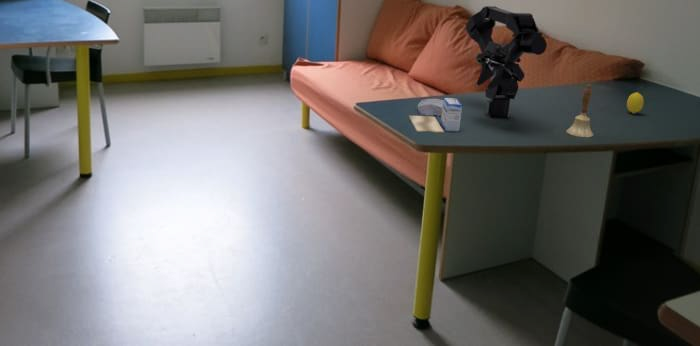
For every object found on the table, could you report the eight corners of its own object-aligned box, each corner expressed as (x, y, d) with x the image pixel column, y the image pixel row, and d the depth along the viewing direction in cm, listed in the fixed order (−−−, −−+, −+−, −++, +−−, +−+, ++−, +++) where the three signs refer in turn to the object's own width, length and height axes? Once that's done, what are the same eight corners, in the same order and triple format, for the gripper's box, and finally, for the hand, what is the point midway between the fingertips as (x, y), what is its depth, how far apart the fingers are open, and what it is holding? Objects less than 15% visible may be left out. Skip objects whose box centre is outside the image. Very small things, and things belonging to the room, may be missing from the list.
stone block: (417, 119, 244) (447, 117, 241) (415, 105, 242) (445, 103, 240) (420, 112, 255) (449, 110, 252) (419, 98, 253) (448, 96, 251)
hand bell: (598, 136, 231) (607, 86, 226) (581, 138, 227) (590, 88, 222) (578, 129, 238) (586, 81, 233) (560, 131, 233) (569, 82, 228)
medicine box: (440, 124, 233) (443, 97, 230) (454, 124, 233) (457, 98, 231) (445, 131, 226) (448, 103, 223) (459, 131, 226) (462, 104, 223)
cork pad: (433, 117, 240) (434, 116, 239) (444, 132, 224) (444, 131, 223) (408, 116, 239) (408, 115, 239) (417, 131, 223) (417, 130, 223)
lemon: (641, 113, 264) (646, 91, 261) (640, 116, 259) (644, 94, 256) (625, 110, 266) (629, 89, 263) (624, 114, 261) (628, 92, 258)
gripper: (483, 28, 235) (452, 63, 234) (522, 38, 220) (489, 75, 218) (499, 51, 242) (469, 86, 240) (538, 62, 227) (506, 99, 225)
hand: (482, 86), depth 231 cm, fingers open, 5 cm apart
